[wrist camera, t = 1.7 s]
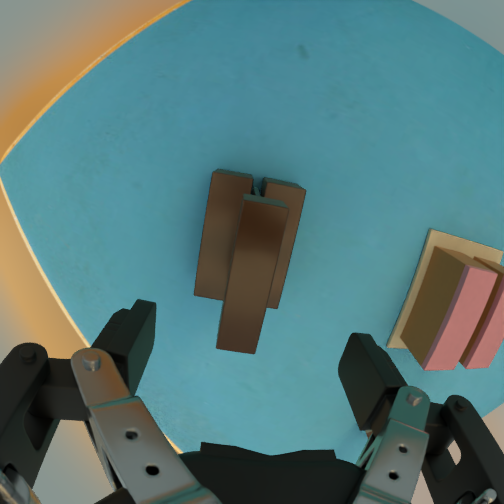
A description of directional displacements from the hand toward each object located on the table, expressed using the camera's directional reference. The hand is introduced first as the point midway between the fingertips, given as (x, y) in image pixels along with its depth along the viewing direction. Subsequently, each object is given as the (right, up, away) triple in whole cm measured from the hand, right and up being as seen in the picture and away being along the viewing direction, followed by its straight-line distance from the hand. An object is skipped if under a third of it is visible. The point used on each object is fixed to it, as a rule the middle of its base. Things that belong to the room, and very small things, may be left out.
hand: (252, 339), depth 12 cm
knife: (-1, +5, +16) cm, 16 cm away
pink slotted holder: (+23, -2, +19) cm, 30 cm away
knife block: (-1, +5, +16) cm, 16 cm away
